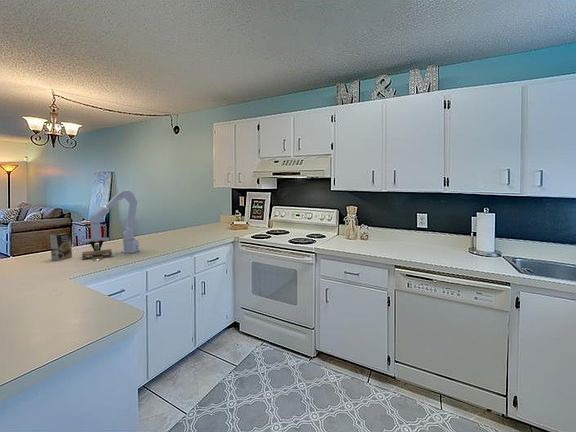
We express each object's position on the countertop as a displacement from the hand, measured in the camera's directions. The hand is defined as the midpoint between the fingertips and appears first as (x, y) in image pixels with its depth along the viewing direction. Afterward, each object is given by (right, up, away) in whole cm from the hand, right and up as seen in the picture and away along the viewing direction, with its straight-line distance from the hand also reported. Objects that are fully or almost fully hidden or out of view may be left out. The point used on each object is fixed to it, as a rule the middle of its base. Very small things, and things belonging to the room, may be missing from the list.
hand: (97, 252), depth 203 cm
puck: (+8, -4, -13) cm, 16 cm away
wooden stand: (+4, -3, -6) cm, 8 cm away
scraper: (+3, -3, -4) cm, 6 cm away
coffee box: (-17, -3, -9) cm, 19 cm away
